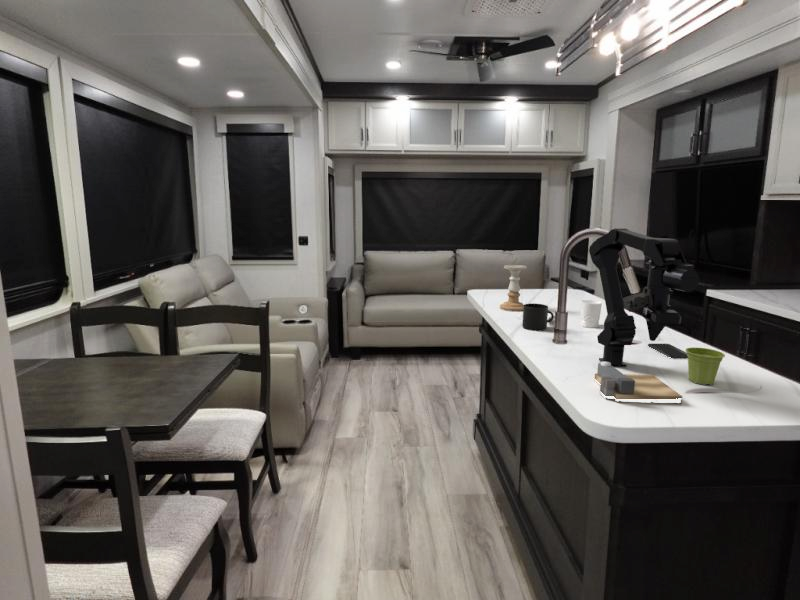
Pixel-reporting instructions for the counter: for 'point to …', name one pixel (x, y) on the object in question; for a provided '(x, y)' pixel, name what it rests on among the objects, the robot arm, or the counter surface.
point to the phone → (669, 350)
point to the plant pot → (703, 364)
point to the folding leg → (617, 378)
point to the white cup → (590, 313)
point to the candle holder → (513, 289)
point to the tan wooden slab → (638, 387)
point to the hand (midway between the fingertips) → (652, 340)
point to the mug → (536, 316)
